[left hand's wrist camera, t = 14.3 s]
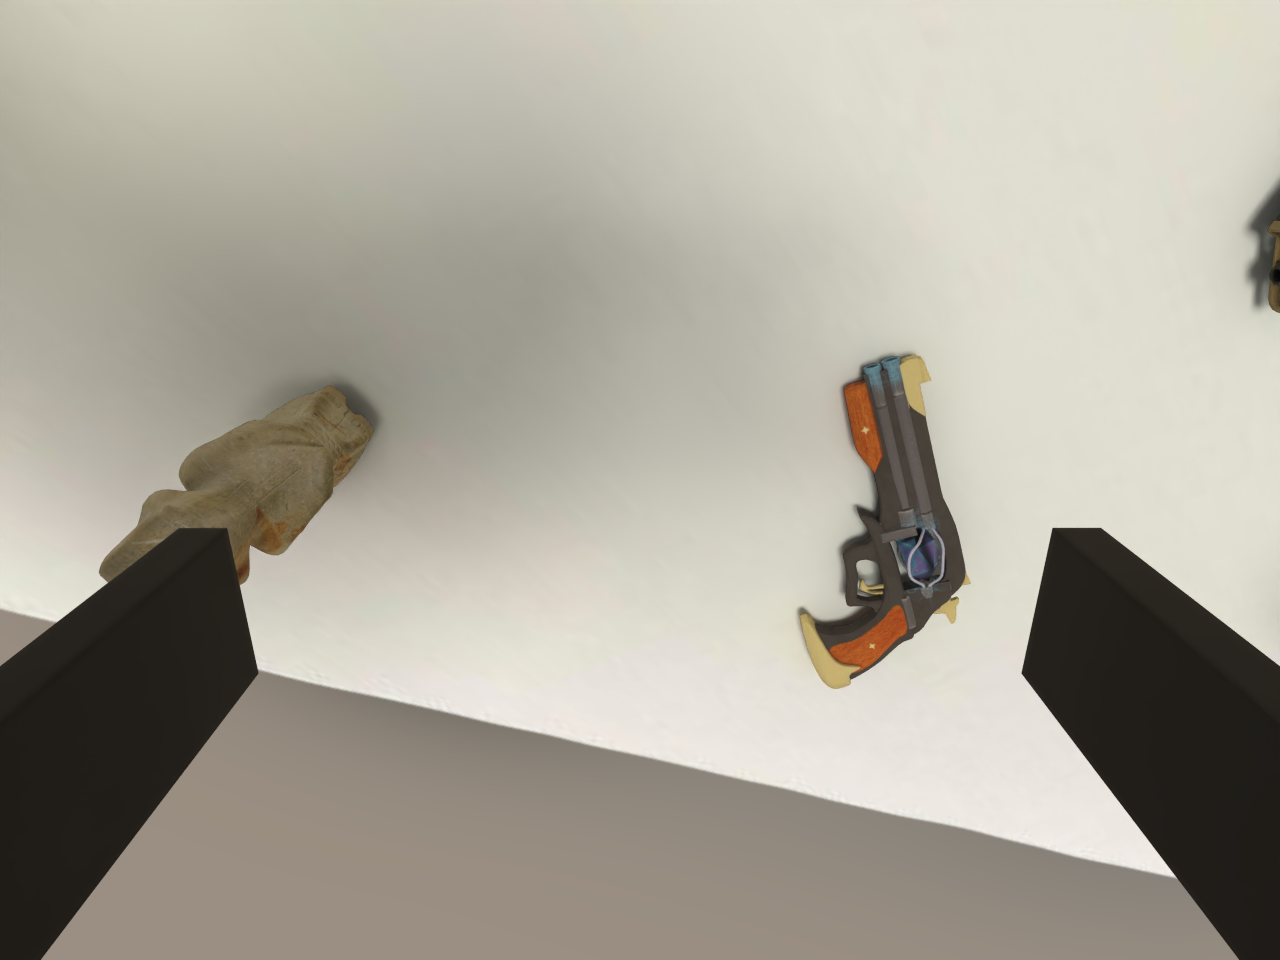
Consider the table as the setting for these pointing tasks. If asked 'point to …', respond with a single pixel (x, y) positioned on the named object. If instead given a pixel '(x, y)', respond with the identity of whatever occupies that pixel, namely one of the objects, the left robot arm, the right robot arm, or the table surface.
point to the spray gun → (1275, 268)
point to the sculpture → (255, 481)
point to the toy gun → (892, 527)
